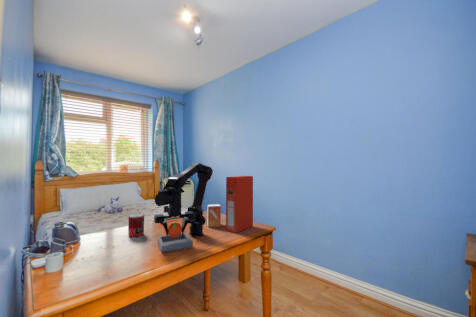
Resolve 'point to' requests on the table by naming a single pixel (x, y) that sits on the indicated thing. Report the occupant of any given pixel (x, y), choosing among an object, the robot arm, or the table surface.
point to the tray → (174, 243)
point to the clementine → (174, 230)
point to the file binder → (239, 203)
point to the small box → (213, 215)
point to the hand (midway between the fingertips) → (174, 234)
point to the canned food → (136, 225)
